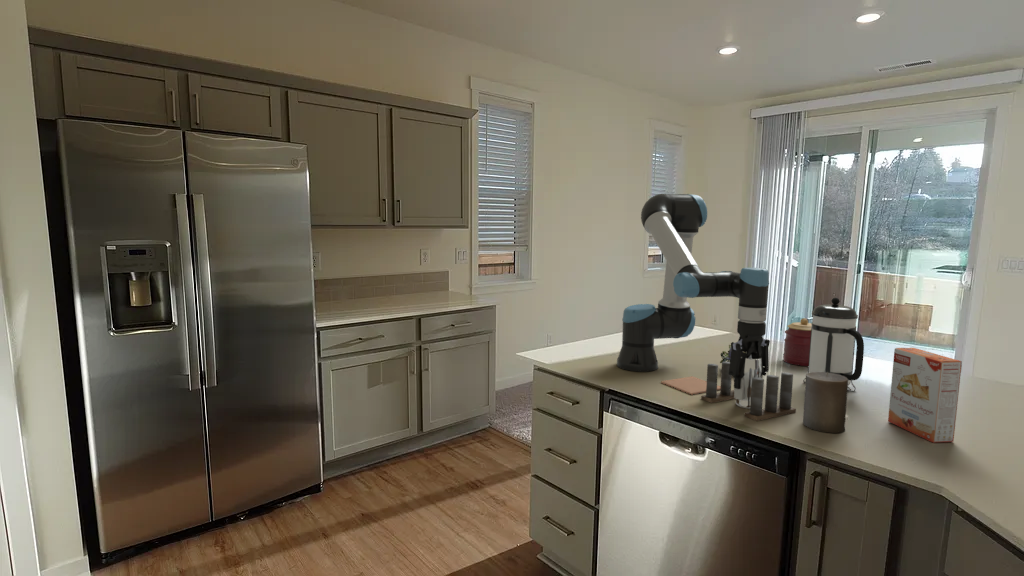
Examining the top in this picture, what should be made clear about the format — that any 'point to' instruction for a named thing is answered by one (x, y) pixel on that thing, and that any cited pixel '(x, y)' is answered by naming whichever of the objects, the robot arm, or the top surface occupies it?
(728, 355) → the passion flower
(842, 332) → the coffee press
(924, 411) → the cracker box
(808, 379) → the pillar candle
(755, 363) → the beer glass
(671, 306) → the robot arm
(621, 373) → the top surface
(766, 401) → the rack
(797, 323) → the canister
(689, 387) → the tile pad
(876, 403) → the top surface
